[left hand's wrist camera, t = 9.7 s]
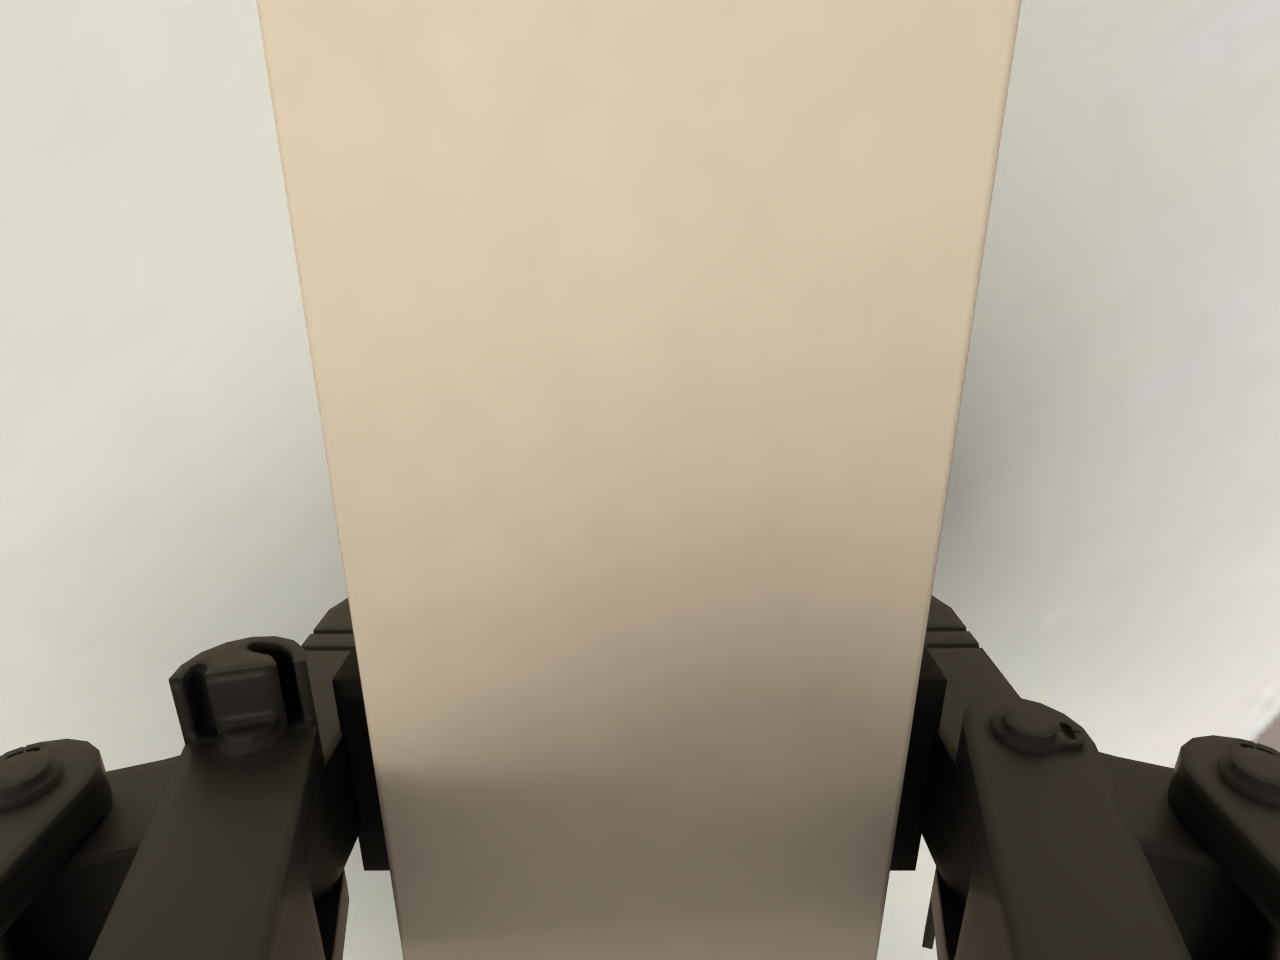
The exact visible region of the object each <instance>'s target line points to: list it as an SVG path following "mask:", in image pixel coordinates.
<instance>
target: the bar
mask: <svg viewBox="0 0 1280 960" xmlns="http://www.w3.org/2000/svg"><path fill="white" fill-rule="evenodd" d="M257 6H258V13H259V19H260V26H261V32H262V39H263V45H264V52H265V58H266V65H267V71H268V78H269V85H270V91H271V98H272V104H273V111H274V117H275V124H276V130H277V137H278V143H279V150H280V156H281V163H282V169H283V176H284V182H285V189H286V195H287V202H288V208H289V215H290V221H291V228H292V235H293V241H294V248H295V254H296V261H297V267H298V274H299V280H300V287H301V293H302V300H303V306H304V313H305V319H306V326H307V332H308V339H309V345H310V352H311V358H312V365H313V372H314V378H315V385H316V391H317V398H318V404H319V411H320V417H321V424H322V430H323V437H324V443H325V450H326V456H327V463H328V469H329V476H330V482H331V489H332V495H333V502H334V508H335V515H336V522H337V528H338V535H339V541H340V548H341V554H342V561H343V567H344V574H345V580H346V587H347V593H348V600H349V606H350V613H351V619H352V626H353V632H354V639H355V645H356V652H357V659H358V665H359V672H360V678H361V685H362V691H363V698H364V704H365V711H366V717H367V724H368V730H369V737H370V743H371V750H372V756H373V763H374V769H375V776H376V782H377V789H378V795H379V802H380V809H381V815H382V822H383V828H384V835H385V841H386V848H387V854H388V861H389V867H390V874H391V880H392V887H393V893H394V900H395V906H396V913H397V919H398V926H399V932H400V939H401V946H402V952H403V959H404V960H876V959H877V952H878V945H879V939H880V932H881V926H882V919H883V912H884V906H885V899H886V893H887V886H888V879H889V873H890V866H891V860H892V853H893V846H894V840H895V833H896V826H897V820H898V813H899V807H900V800H901V793H902V787H903V780H904V774H905V767H906V760H907V754H908V747H909V740H910V734H911V727H912V721H913V714H914V707H915V701H916V694H917V688H918V681H919V674H920V668H921V661H922V654H923V648H924V641H925V635H926V628H927V621H928V615H929V608H930V602H931V595H932V588H933V582H934V575H935V568H936V562H937V555H938V549H939V542H940V535H941V529H942V522H943V516H944V509H945V502H946V496H947V489H948V483H949V476H950V469H951V463H952V456H953V449H954V443H955V436H956V430H957V423H958V416H959V410H960V403H961V397H962V390H963V383H964V377H965V370H966V363H967V357H968V350H969V344H970V337H971V330H972V324H973V317H974V311H975V304H976V297H977V291H978V284H979V277H980V271H981V264H982V258H983V251H984V244H985V238H986V231H987V225H988V218H989V211H990V205H991V198H992V192H993V185H994V178H995V172H996V165H997V158H998V152H999V145H1000V139H1001V132H1002V125H1003V119H1004V112H1005V106H1006V99H1007V92H1008V86H1009V79H1010V72H1011V66H1012V59H1013V53H1014V46H1015V39H1016V33H1017V26H1018V20H1019V13H1020V6H1021V0H257Z"/></svg>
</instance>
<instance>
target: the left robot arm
mask: <svg viewBox="0 0 1280 960" xmlns="http://www.w3.org/2000/svg"><path fill="white" fill-rule="evenodd" d="M169 683H170V687H171V691H172V695H173V699H174V702H175V706H176V710H177V714H178V718H179V722H180V726H181V729H182V733H183V737H184V741H185V747H184V749H183V751H182V753H181V755H179V756H176V757H172V758H168V759H165V760H160V761H156V762H151V763H146V764H141V765H136V766H132V767H127V768H122V769H117V770H113V771H108V772H106V771H105V768H104V764H103V761H102V758H101V755H100V751H99V750H98V749H97V748H96V747H94V746H93V745H92V744H90V743H89V742H88V741H80V740H73V739H62V740H54V741H46V742H39V743H35V744H31V745H27V746H26V747H20V748H18V749H15V750H12V751H9V752H7V753H5V754H4V755H2V756H0V960H342V958H343V950H344V941H345V932H346V923H347V914H348V905H349V895H348V888H347V881H346V876H345V870H344V867H345V864H346V862H347V860H348V858H349V855H350V853H351V851H352V849H353V846H354V844H355V842H356V840H357V838H358V837H359V843H360V849H361V855H362V860H363V866H364V870H390V867H389V861H388V854H387V848H386V841H385V835H384V828H383V822H382V815H381V809H380V802H379V795H378V789H377V782H376V776H375V769H374V763H373V756H372V750H371V743H370V737H369V730H368V724H367V717H366V711H365V704H364V698H363V691H362V685H361V678H360V672H359V665H358V659H357V652H356V645H355V639H354V632H353V626H352V619H351V613H350V606H349V600H348V598H347V599H345V600H344V601H342V602H341V603H339V604H338V605H336V606H335V607H333V608H331V609H330V610H329V611H328V612H327V613H326V615H325V616H324V617H323V618H322V620H321V621H320V622H319V624H318V625H317V626H316V628H315V629H314V633H313V634H310V635H309V637H308V638H307V639H306V641H305V642H304V643H303V645H302V646H300V645H299V644H298V643H296V642H295V641H294V640H290V639H285V638H281V637H276V636H268V637H250V638H245V639H241V640H236V641H231V642H227V643H224V644H221V645H219V646H216V647H214V648H211V649H209V650H206V651H204V652H201V653H200V654H198V655H197V656H195V657H193V658H192V659H190V660H189V661H187V662H186V663H184V664H182V665H181V666H180V667H179V668H178V669H177V671H176V672H175V673H174V674H173V675H172V676H171V677H170V678H169ZM921 833H922V835H923V837H924V840H925V842H926V844H927V846H928V849H929V851H930V853H931V855H932V857H933V860H934V862H935V864H936V870H935V876H934V881H933V887H932V892H931V898H930V903H929V909H928V914H927V920H926V925H925V931H924V938H923V945H922V947H925V948H930V949H932V948H933V943H934V937H935V939H936V948H937V956H938V960H1280V753H1279V752H1278V751H1276V750H1275V749H1273V748H1270V747H1267V746H1264V745H1262V744H1259V743H1258V744H1255V743H1254V742H1252V741H1247V740H1243V739H1238V738H1230V737H1222V736H1214V735H1212V736H1204V737H1197V738H1192V739H1191V740H1189V741H1188V742H1187V743H1186V744H1184V745H1183V746H1182V747H1181V749H1180V752H1179V755H1178V759H1177V762H1176V765H1175V768H1169V767H1164V766H1159V765H1154V764H1150V763H1145V762H1140V761H1135V760H1130V759H1125V758H1121V757H1116V756H1112V755H1109V754H1105V753H1101V752H1098V750H1097V747H1096V745H1095V743H1094V742H1093V741H1092V739H1091V738H1090V737H1089V735H1088V734H1087V733H1086V731H1085V730H1084V729H1083V728H1082V727H1081V726H1080V725H1078V724H1077V723H1076V722H1074V721H1073V720H1072V719H1070V718H1069V717H1067V716H1066V715H1065V714H1063V713H1061V712H1059V711H1056V710H1054V709H1052V708H1050V707H1048V706H1045V705H1043V704H1041V703H1038V702H1034V701H1030V700H1026V699H1022V698H1020V696H1019V695H1018V694H1017V693H1016V691H1015V690H1014V689H1013V687H1012V686H1011V685H1010V684H1009V682H1008V681H1007V680H1006V678H1005V677H1004V676H1003V674H1002V673H1001V672H1000V671H999V669H998V668H997V667H996V665H995V664H994V663H993V662H992V660H991V659H990V658H989V656H988V655H987V654H986V652H985V651H984V650H983V649H982V648H979V643H978V642H977V641H976V640H975V638H974V637H973V636H972V634H971V633H970V632H969V631H966V627H965V625H964V624H963V623H962V621H961V620H960V619H959V618H958V616H957V615H956V614H955V612H954V611H953V610H952V608H951V607H949V606H947V605H946V604H944V603H943V602H941V601H940V600H938V599H937V598H935V597H933V596H932V595H931V602H930V608H929V615H928V621H927V628H926V635H925V641H924V648H923V654H922V661H921V668H920V674H919V681H918V688H917V694H916V701H915V707H914V714H913V721H912V727H911V734H910V740H909V747H908V754H907V760H906V767H905V774H904V780H903V787H902V793H901V800H900V807H899V813H898V820H897V826H896V833H895V840H894V846H893V853H892V860H891V866H890V870H915V869H916V863H917V857H918V851H919V845H920V839H921Z"/></svg>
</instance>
